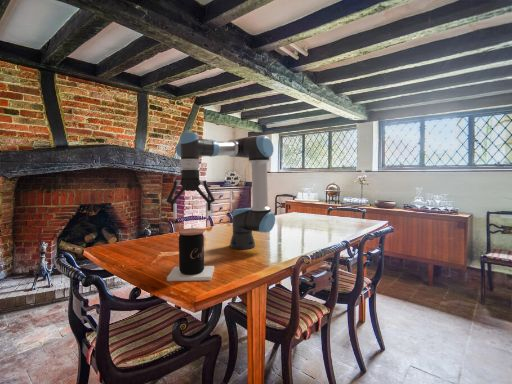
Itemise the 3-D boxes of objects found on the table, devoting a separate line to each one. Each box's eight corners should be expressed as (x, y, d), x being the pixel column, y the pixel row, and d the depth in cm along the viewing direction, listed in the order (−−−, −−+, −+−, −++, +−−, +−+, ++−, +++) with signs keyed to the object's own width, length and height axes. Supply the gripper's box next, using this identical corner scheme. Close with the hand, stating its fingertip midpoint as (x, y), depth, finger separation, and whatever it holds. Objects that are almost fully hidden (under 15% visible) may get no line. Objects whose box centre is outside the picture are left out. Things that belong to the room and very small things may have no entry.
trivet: (214, 269, 134) (214, 265, 134) (210, 280, 120) (210, 276, 120) (174, 269, 133) (174, 266, 133) (166, 281, 119) (166, 277, 119)
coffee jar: (192, 277, 119) (191, 234, 118) (174, 272, 125) (173, 231, 124) (209, 269, 128) (208, 229, 127) (191, 265, 134) (191, 227, 133)
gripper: (157, 169, 119) (159, 220, 121) (218, 169, 121) (219, 219, 122) (162, 169, 127) (164, 217, 128) (220, 169, 128) (221, 216, 130)
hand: (191, 218), depth 125 cm, fingers open, 13 cm apart
